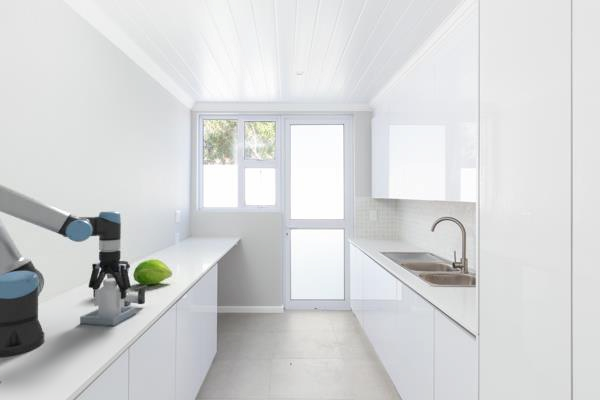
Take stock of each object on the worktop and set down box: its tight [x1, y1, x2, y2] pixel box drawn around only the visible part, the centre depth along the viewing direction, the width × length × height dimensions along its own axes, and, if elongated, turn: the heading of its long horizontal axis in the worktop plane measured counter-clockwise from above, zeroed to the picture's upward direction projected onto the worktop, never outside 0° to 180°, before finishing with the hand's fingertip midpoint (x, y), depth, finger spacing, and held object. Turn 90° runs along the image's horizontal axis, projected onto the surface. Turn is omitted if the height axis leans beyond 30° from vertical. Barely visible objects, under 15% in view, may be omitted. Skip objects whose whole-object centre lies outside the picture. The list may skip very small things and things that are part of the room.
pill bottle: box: [97, 278, 121, 318], centre depth 137 cm, size 8×8×15 cm
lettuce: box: [132, 258, 173, 286], centre depth 190 cm, size 15×20×14 cm
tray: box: [79, 306, 137, 327], centre depth 137 cm, size 14×14×3 cm
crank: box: [124, 285, 149, 305], centre depth 153 cm, size 15×6×8 cm, turn 71°
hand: (109, 306), depth 137 cm, fingers open, 9 cm apart
